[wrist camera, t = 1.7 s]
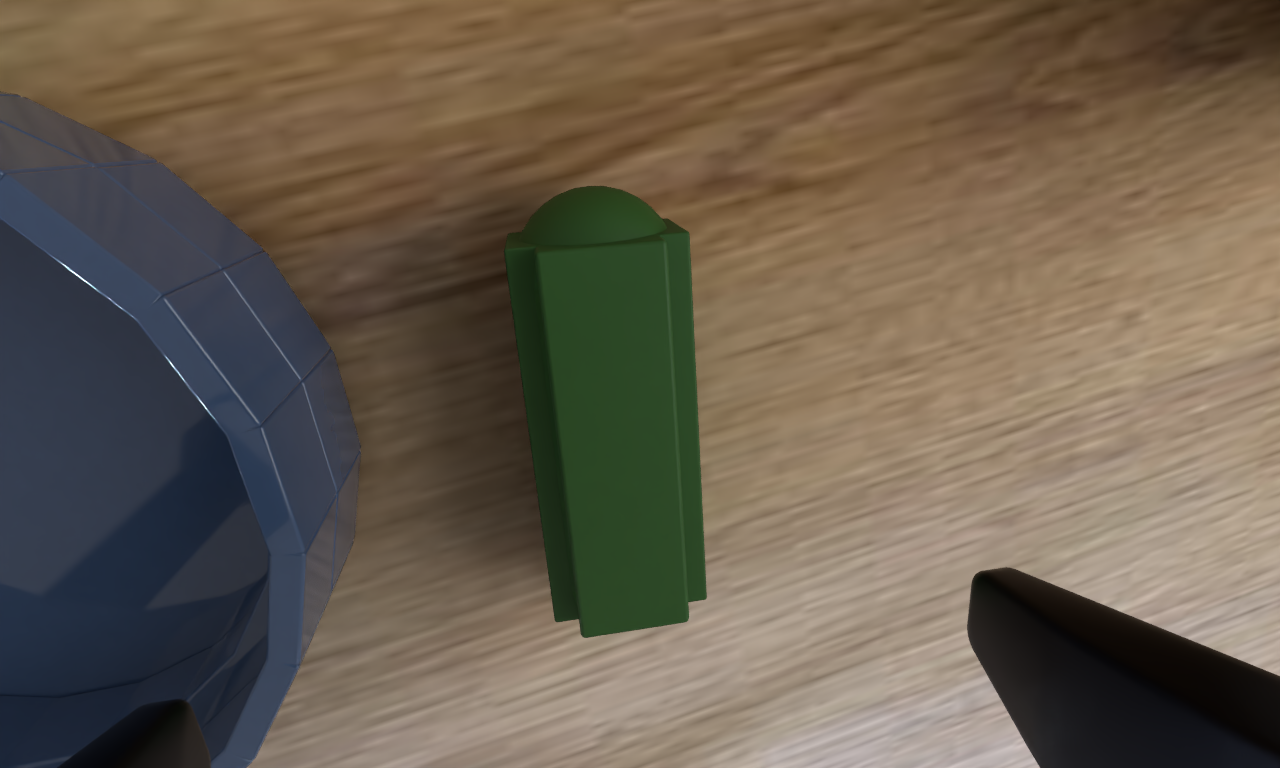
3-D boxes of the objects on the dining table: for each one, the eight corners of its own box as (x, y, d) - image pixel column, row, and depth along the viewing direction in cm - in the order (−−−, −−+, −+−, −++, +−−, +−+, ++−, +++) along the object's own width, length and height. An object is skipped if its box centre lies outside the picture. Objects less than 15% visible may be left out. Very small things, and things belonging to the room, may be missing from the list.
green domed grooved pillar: (684, 562, 19) (716, 651, 16) (555, 581, 19) (560, 677, 16) (660, 173, 16) (695, 184, 12) (502, 187, 15) (494, 202, 12)
